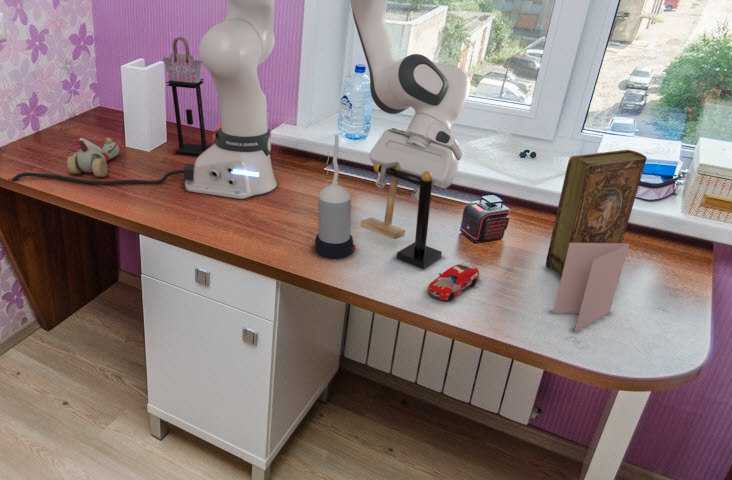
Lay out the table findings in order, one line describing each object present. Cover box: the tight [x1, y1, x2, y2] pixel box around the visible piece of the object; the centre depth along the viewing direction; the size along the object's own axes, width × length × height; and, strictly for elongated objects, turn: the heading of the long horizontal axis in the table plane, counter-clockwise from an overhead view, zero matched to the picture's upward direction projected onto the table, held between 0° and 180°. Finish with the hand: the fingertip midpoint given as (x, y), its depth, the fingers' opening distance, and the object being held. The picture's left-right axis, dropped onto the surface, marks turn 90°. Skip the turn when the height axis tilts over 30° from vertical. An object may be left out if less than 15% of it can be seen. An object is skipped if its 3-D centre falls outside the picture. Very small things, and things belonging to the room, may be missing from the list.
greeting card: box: [552, 242, 630, 332], centre depth 118 cm, size 11×7×15 cm, turn 97°
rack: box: [373, 163, 443, 270], centre depth 135 cm, size 7×16×20 cm, turn 56°
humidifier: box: [314, 134, 356, 260], centre depth 132 cm, size 8×8×25 cm
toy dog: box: [66, 136, 121, 178], centre depth 165 cm, size 12×19×9 cm, turn 19°
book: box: [545, 149, 647, 278], centre depth 133 cm, size 16×6×25 cm, turn 117°
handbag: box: [162, 36, 211, 157], centre depth 174 cm, size 10×7×30 cm
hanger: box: [360, 162, 406, 240], centre depth 136 cm, size 6×9×15 cm, turn 55°
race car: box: [427, 262, 480, 302], centre depth 128 cm, size 13×5×4 cm, turn 140°
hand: (396, 192), depth 138 cm, fingers open, 8 cm apart
